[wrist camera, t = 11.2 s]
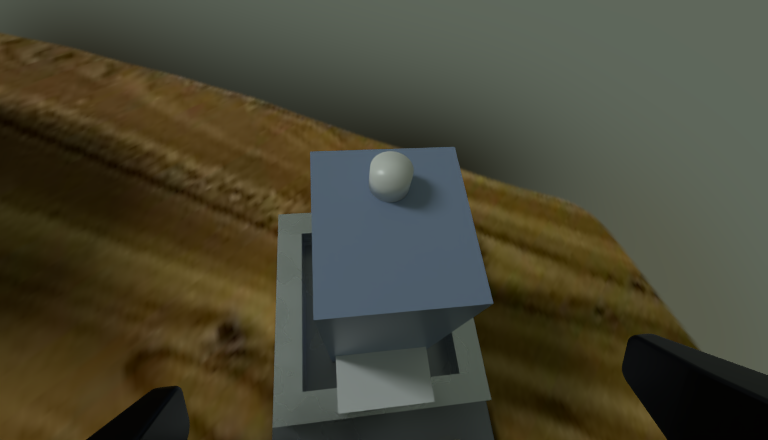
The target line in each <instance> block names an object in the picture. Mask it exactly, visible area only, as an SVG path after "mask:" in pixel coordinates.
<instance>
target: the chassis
mask: <svg viewBox="0 0 768 440" xmlns="http://www.w3.org/2000/svg"><path fill="white" fill-rule="evenodd" d="M427 356H428V363H429V369H430V376H431V382H432V389H433V395H434V402H429V403H421V404H413V405H405V406H397V407H389V408H381V409H373V410H365V411H357V412H349V413H341V414H338V397H337V374H336V362H332V360H331V358H330V356H329V354H328V352H327V349H326V347H325V345H324V343H323V340H322V338H321V336H320V334H319V331H318V329H317V327H316V325H315V322H314V320H313V267H312V214H311V213H300V214H282V215H279V219H278V255H277V291H276V327H275V363H274V399H273V435H272V440H494V436H493V432H492V427H491V422H490V418H489V413H488V408H487V404H486V400H491V396H490V391H489V387H488V382H487V377H486V373H485V368H484V364H483V359H482V355H481V350H480V346H479V341H478V336H477V332H476V327H475V323H474V318H472V319H470V320H469V321H467V322H466V323H464V324H463V325H462V326H460V327H459V328H457V329H456V330H454V331H453V332H451V333H450V334H448V335H447V336H445V337H444V338H443V339H441V340H440V341H438V342H437V343H435V344H434V345H432V346H431V347H429V348H428V349H427Z"/></svg>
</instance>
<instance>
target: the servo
mask: <svg viewBox="0 0 768 440" xmlns="http://www.w3.org/2000/svg"><path fill="white" fill-rule="evenodd" d="M310 161H311V214H312V267H313V320H314V322H315V325H316V327H317V329H318V331H319V334H320V336H321V338H322V340H323V343H324V345H325V347H326V349H327V352H328V354H329V356H330V358H331V360H332V362H336V374H337V397H338V414H341V413H349V412H357V411H365V410H373V409H381V408H389V407H397V406H405V405H413V404H421V403H429V402H434V395H433V389H432V382H431V376H430V369H429V363H428V356H427V349H428V348H429V347H431V346H432V345H434V344H435V343H437V342H438V341H440V340H441V339H443V338H444V337H445V336H447V335H448V334H450V333H451V332H453V331H454V330H456V329H457V328H459V327H460V326H462V325H463V324H464V323H466V322H467V321H469V320H470V319H472V318H473V317H475V316H476V315H478V314H479V313H480V312H482V311H483V310H485V309H486V308H488V307H489V306H491V305H492V304H493V300H492V296H491V292H490V288H489V284H488V280H487V276H486V272H485V268H484V264H483V260H482V256H481V252H480V248H479V244H478V239H477V235H476V231H475V227H474V223H473V219H472V215H471V211H470V207H469V203H468V199H467V195H466V191H465V187H464V183H463V179H462V175H461V171H460V167H459V163H458V159H457V155H456V151H455V147H439V148H410V149H409V148H408V149H378V150H348V151H318V152H310Z"/></svg>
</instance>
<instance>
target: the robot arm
mask: <svg viewBox="0 0 768 440" xmlns="http://www.w3.org/2000/svg"><path fill="white" fill-rule="evenodd" d="M622 372H623V375H624V378H625V380H626V381H627V383H628V384H629V385H630V387H631V388H632V390H633V391H634V393H635V394H636V395H637V397H638V398H639V400H640V401H641V403H642V404H643V405H644V407H645V408H646V410H647V411H648V413H649V414H650V415H651V417H652V418H653V420H654V421H655V423H656V424H657V425H658V427H659V428H660V430H661V431H662V433H663V434H664V435H665V437H666V438H667V440H768V375H766V374H763V373H760V372H757V371H755V370H752V369H749V368H746V367H743V366H740V365H737V364H735V363H732V362H729V361H726V360H724V359H721V358H718V357H715V356H713V355H710V354H707V353H704V352H701V351H699V350H696V349H693V348H690V347H688V346H685V345H682V344H679V343H676V342H674V341H671V340H668V339H665V338H662V337H660V336H657V335H654V334H641V335H634V336H631V337H630V338H629V340H628V342H627V347H626V351H625V355H624V360H623V364H622ZM188 434H189V417H188V413H187V409H186V405H185V400H184V396H183V392H182V390H181V388H180V387H178V386H168V387H159V388H155V389H153V390H151V391H150V392H148V393H147V394H146V395H144V396H143V397H142V398H140V399H139V400H138V401H136V402H135V403H134V404H132V405H131V406H130V407H128V408H127V409H126V410H125V411H123V412H122V413H121V414H119V415H118V416H117V417H115V418H114V419H113V420H111V421H110V422H109V423H107V424H106V425H105V426H103V427H102V428H101V429H100V430H98V431H97V432H96V433H94V434H93V435H92V436H90V437H89V438H88V439H86V440H187V438H188Z"/></svg>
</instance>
